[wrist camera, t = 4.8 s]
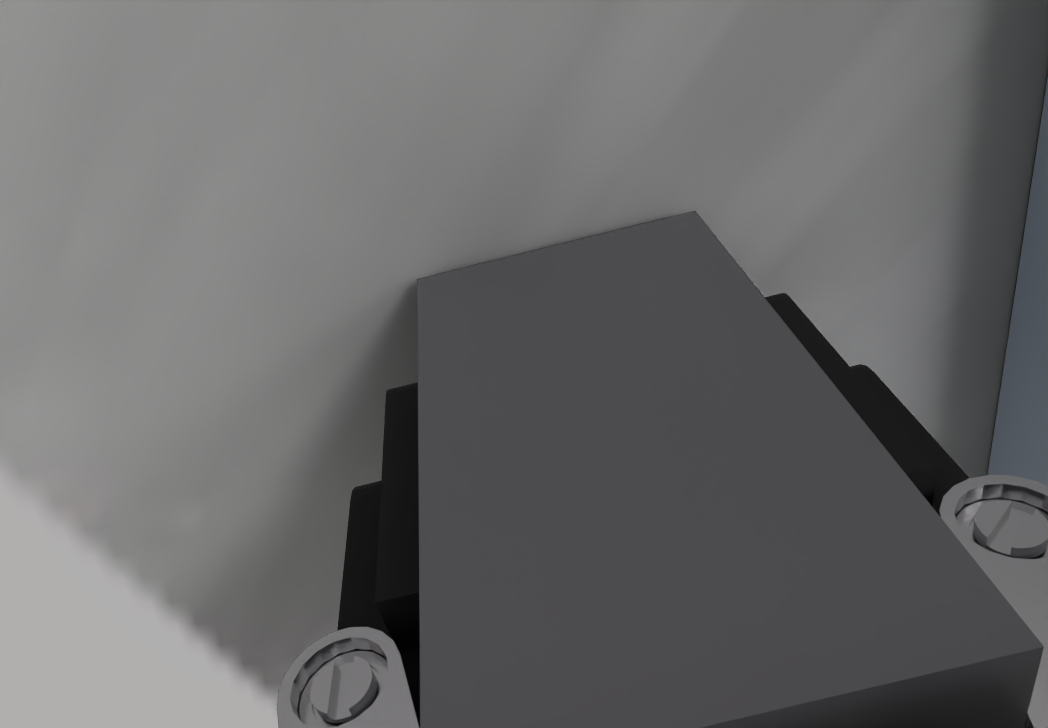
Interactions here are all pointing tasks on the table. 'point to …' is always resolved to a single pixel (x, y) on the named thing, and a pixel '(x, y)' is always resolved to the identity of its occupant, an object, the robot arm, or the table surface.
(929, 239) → the table surface
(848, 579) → the block
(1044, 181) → the blue-grey fixture board
